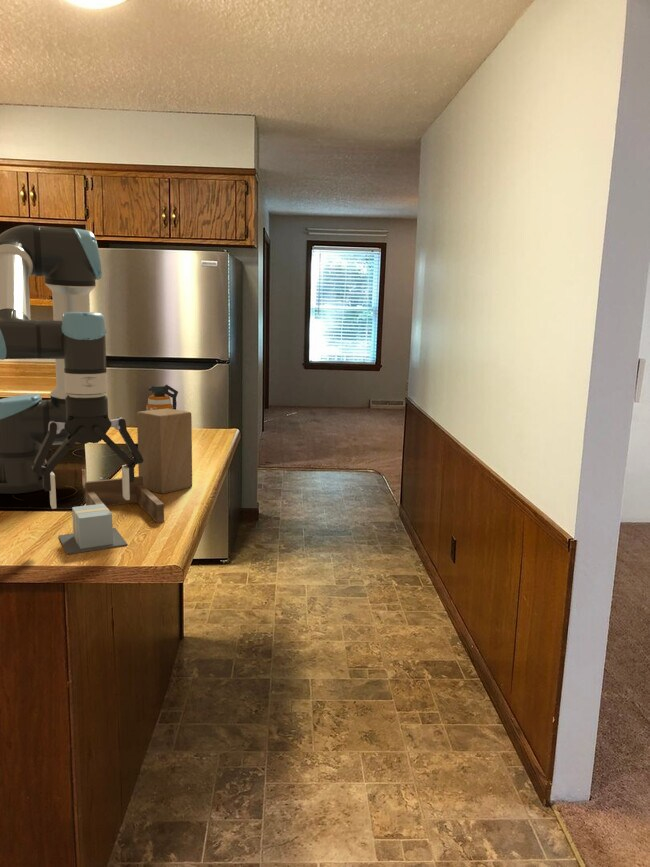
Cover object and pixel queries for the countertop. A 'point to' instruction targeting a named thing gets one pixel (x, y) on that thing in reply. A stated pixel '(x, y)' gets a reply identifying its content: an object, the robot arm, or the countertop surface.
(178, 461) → the wooden block
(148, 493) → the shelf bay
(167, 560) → the countertop surface
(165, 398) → the orange rounded handled piece
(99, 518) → the block
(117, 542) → the mat
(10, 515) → the countertop surface
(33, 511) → the countertop surface
